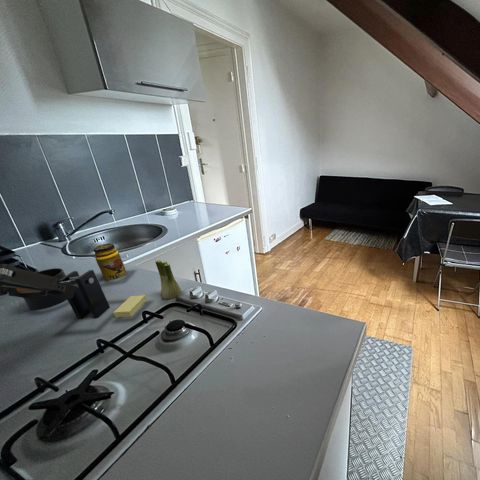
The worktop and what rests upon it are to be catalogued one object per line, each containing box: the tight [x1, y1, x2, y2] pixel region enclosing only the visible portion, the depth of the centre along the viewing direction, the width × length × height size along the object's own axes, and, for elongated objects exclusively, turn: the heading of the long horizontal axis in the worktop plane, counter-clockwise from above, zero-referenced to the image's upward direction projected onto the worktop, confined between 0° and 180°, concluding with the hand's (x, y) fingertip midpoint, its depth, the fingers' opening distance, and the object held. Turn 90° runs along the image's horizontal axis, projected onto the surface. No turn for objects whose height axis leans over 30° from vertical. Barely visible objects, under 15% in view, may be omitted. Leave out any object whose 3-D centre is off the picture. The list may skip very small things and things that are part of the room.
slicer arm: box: [17, 275, 81, 293], centre depth 59 cm, size 12×6×2 cm, turn 1°
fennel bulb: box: [155, 259, 182, 301], centre depth 71 cm, size 6×5×12 cm
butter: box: [112, 294, 148, 318], centre depth 68 cm, size 7×4×3 cm, turn 2°
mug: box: [23, 267, 68, 311], centre depth 74 cm, size 9×12×9 cm
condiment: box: [92, 243, 128, 281], centre depth 84 cm, size 7×8×12 cm
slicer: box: [58, 269, 111, 320], centre depth 65 cm, size 12×9×13 cm
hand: (58, 293), depth 58 cm, fingers closed on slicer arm, 5 cm apart
